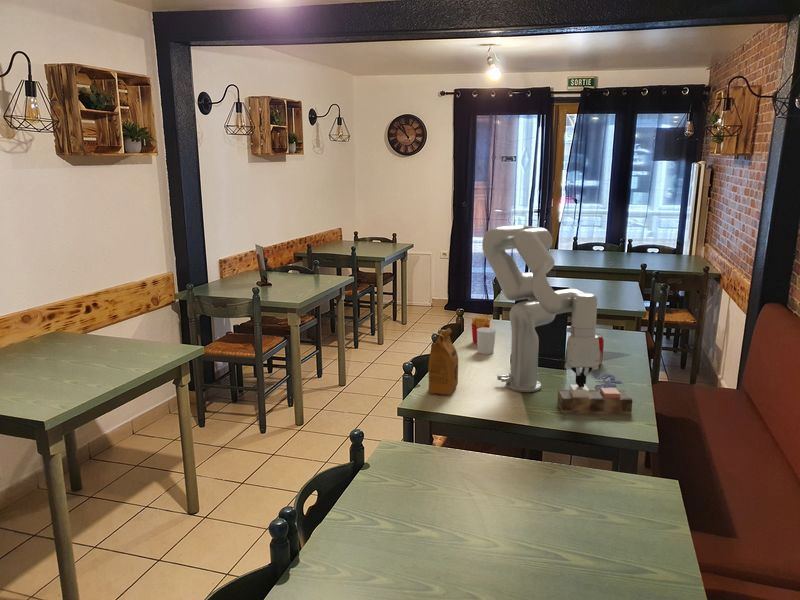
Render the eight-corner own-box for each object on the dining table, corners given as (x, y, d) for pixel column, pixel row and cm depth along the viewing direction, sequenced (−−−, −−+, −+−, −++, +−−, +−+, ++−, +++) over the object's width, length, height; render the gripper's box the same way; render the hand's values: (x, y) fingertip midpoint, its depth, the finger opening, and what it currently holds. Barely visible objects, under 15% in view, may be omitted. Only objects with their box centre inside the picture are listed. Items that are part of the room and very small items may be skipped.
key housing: (562, 413, 196) (563, 398, 195) (557, 403, 204) (558, 389, 203) (631, 414, 195) (632, 399, 194) (623, 404, 203) (624, 390, 202)
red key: (603, 404, 197) (604, 393, 196) (599, 398, 201) (600, 387, 201) (619, 404, 196) (620, 393, 195) (614, 399, 201) (615, 388, 200)
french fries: (470, 343, 274) (471, 317, 271) (472, 340, 277) (473, 315, 275) (489, 344, 271) (489, 318, 269) (490, 342, 275) (491, 316, 272)
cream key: (572, 401, 197) (573, 389, 196) (569, 395, 202) (570, 384, 201) (588, 401, 197) (589, 390, 196) (584, 395, 201) (585, 384, 201)
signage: (593, 372, 233) (620, 374, 231) (592, 374, 234) (620, 376, 231) (596, 399, 207) (627, 402, 204) (596, 401, 207) (627, 404, 204)
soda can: (604, 366, 241) (606, 337, 239) (586, 366, 242) (588, 337, 239) (599, 361, 248) (601, 332, 246) (581, 360, 248) (583, 332, 246)
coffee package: (462, 386, 220) (463, 328, 215) (450, 398, 209) (451, 337, 204) (436, 382, 224) (437, 325, 219) (424, 394, 213) (424, 334, 208)
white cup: (473, 350, 263) (473, 328, 261) (489, 348, 265) (490, 326, 263) (481, 355, 256) (481, 332, 254) (498, 354, 258) (498, 331, 256)
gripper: (562, 334, 191) (559, 389, 195) (610, 334, 190) (606, 390, 194) (557, 328, 198) (555, 381, 202) (603, 328, 197) (600, 382, 201)
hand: (580, 385), depth 198 cm, fingers closed
